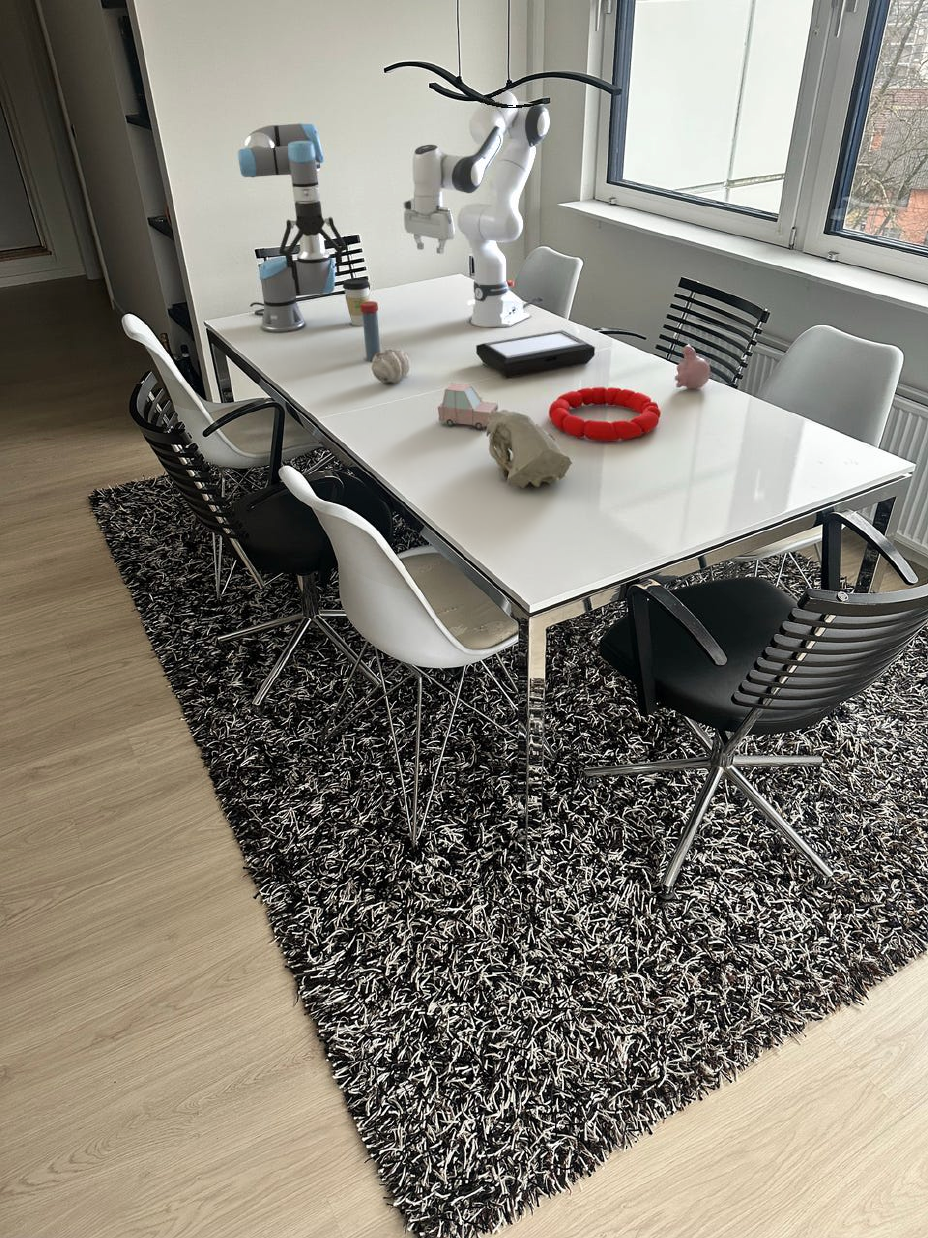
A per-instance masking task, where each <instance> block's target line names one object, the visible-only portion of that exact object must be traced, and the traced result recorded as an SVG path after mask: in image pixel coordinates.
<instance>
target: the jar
mask: <svg viewBox="0 0 928 1238" xmlns="http://www.w3.org/2000/svg"><path fill="white" fill-rule="evenodd" d="M362 316H363V325H362V328H363V337H364V348H365V349H364V350H365V358H366V361H369V362H372V361H373V358H374V357H375V354H376V353H381V343H380V331H379V320H378V318H379V317H378V311H377V312H374V313H363V312H362Z"/></svg>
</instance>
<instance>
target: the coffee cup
mask: <svg viewBox="0 0 928 1238" xmlns="http://www.w3.org/2000/svg"><path fill="white" fill-rule="evenodd" d="M370 287H371V283H370V282H369V279H367V278H365V277H351V278H347V279H345V280H344V281H343V285H342V288H343V290H344V297H345V301H346V305H347V310H348V314H349V318H350V323H351V325H353V326H357V327H359V326H363V316H362V312H361V307H360V304H361V303H362V302H367V301H370Z"/></svg>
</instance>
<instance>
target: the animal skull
mask: <svg viewBox="0 0 928 1238" xmlns="http://www.w3.org/2000/svg"><path fill="white" fill-rule="evenodd" d="M485 436H486V438H487V437H489V438H488V440H489V444H488V445H489V446H488V450H489V454H490V456H491V457H492V458H493V459H494V460H495V462H496V464H497V466H499V468H500V470H501V471H502V472H501V478H502V479H507V480H506V484H507V486H517V487H518V486H519V488H523V489H524V488H526V486H527V485H529V483H531V485H533V486H534V487H536V488H540V485H541V484H542V482H544V483H549V484H550V485H553V484H555V483H556V482H557V480H561V479H563V478H565V476H566V474H567V472H568V471H569V469H570V467H571V466H572V464H573V462H572V461H571V458H570V457H568V456H567V455H565V453H564V451H562V449H561V448H560V446H559V444H557V443H556V439H555V438H554V436H553V435H551V434H550V433H548V432H547V431H546V430H545V429H544V428H542V427H541V426H539V425H538V424H537V423H536V424H535V422H534V421H533V419H532V418H531V417H530V416H529V415H527V414H524V413H519V412H515V411H509V410H507V409H502V410H500V411H499V410H497V411H496V412H492V413H491V414H490V422H488V423H487V427H486V435H485ZM511 453H512V454H511ZM511 455H512V457H513V458H512V460H511ZM507 474H508V475H507Z"/></svg>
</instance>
